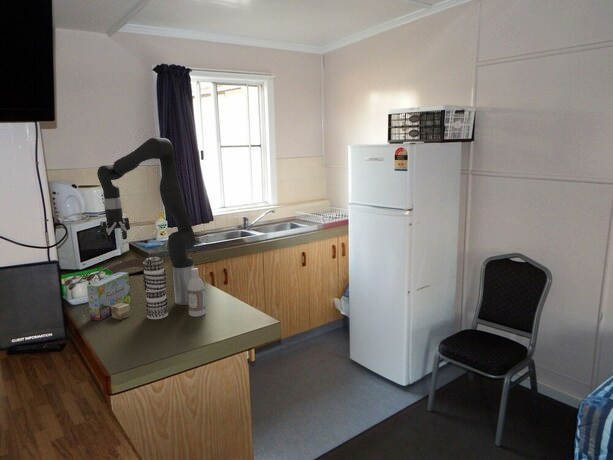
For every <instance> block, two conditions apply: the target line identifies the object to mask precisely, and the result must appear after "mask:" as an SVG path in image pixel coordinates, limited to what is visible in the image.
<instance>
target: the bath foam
mask: <svg viewBox="0 0 613 460" xmlns="http://www.w3.org/2000/svg"><path fill="white" fill-rule="evenodd" d="M191 276H192V277H191V279H190V281H189V283H188V287H187V292H188V305H187V306H188V314H189V316H190V317H202V316H204V315H205V314H206V312H207V309H206V307H207V306H206V294H205V293H206V292H205V285H204V284H205V283H204V282H203V280H202V279H201V278H200V276H199V267H194V268H192V269H191Z"/></svg>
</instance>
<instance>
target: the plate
mask: <svg viewBox="0 0 613 460" xmlns="http://www.w3.org/2000/svg"><path fill="white" fill-rule="evenodd" d="M147 258H148V257H143V258H133V259H129V260H126V261H122V262H119V263H117V264H114V265H113V266H111V267H110V268H109V269H108V270H111V271H112V272H116V271H117V272H118V271H121V270H125V269H129V268H142V269H141V270H137V271H136V270H135V271H133V272H132V271H131V272H127V273H128V275H130V274H131V275H132V274H134V273H138V272H143V271H144V264H143V262H145V260H146V259H147ZM112 272H111V273H112Z"/></svg>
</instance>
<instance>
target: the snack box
mask: <svg viewBox="0 0 613 460" xmlns="http://www.w3.org/2000/svg"><path fill="white" fill-rule="evenodd" d="M128 273H129V272H123V271H121V272H119V271H117V272H116V273H114V274H110V275H109V276H107V277H104V278H102V279H99V280H98V281H94V282H93V283H90V284H88V285H87V286H86V287H87V288H86V289H87V298H88V310H89V311H88V312H89V319H90V320H92V321H99V322H101V321H102V320H104V319H106V318H107V317H109V316H112V308H111V306H114V305H117V304H119V303H125V304H129V305H131V304H130V303H131V292H130V291H131V289H130V279H129V277H130V274H128ZM90 320H89V321H90Z"/></svg>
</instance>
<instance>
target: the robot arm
mask: <svg viewBox="0 0 613 460" xmlns="http://www.w3.org/2000/svg"><path fill="white" fill-rule="evenodd" d="M175 159H176V158H175V152H174V147H173V143H172V142H171V141H170V140H169V139H168V138H165V137H151V138H149V139H147V140H146V141H144V142H143V143H142V144H141V145H140V146H138V147H137V148H136V149H134V150H133V151H132V152H130V153H128V154H126V155H123V156H122V157H119V159H117V160H115V161H114V162H113V164H112V165H110V164H109V165H108V164H107V165H101V166H99V167H98V169H97V172H96V173H97V174H96V175H97V178H98V181H99V183H100V186H101V188H102V192H103V204H104V205H103V206H104V214H105V218H106V220H105V221H101V220H100V223H99V225H100V234H101V235H104V237H105V242H107V243H109V244H111V243H112V237H111V233H112V231H113V230H116V229H120V231H121V236H122V240H127V238H128V235H127V232H128V231H129V230H131V226H130V220H129V217H123V216H124V215H123V206H122V199H121V194H120V187H119V186H118V185H114V184H113V182H112V181H117V180H119V179H121V178H122V177H123V176H125V175H126V174H128V173H130V172H132V171H134V170H135V169H137V168H138V167H139V166H140V165H141V163H143V162H145V161H149V160H159V162H160V166H161V177H160V183H159V194H160V198H161V202H162V205H163V207H164V208H165V210H166V211H167V212H168V213H169V214H170V215H171V217H172V218H173V220H174V221H175V224H176V229H177V231H172V232H171V233H170V234H169V236H168V240H167V245H168V252H169V260H170V262H171V266H172V277H173V278H172V279H173V280H172V281H173V290H174V291H173V293H174V303H175V305H180V306H183V305H184V306H185V305H186V306H188V292H187V287H188V283H189V281H190V279H191V277H192V276H191V269H192V268H195V267H194V260H193V258H192V257H191V256H190V257H189V256H188V255H187V252H186V251H187V250H191V249H192V248H194V246H195V244H196V236H195V233H194V229H193V226H192V224H191V222H190V218H189V216H188V211H187V208H186V205H185V200H184V195H183V191H182V187H181V185H180V180H179V176H178V171H177V166H176V160H175Z"/></svg>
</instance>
